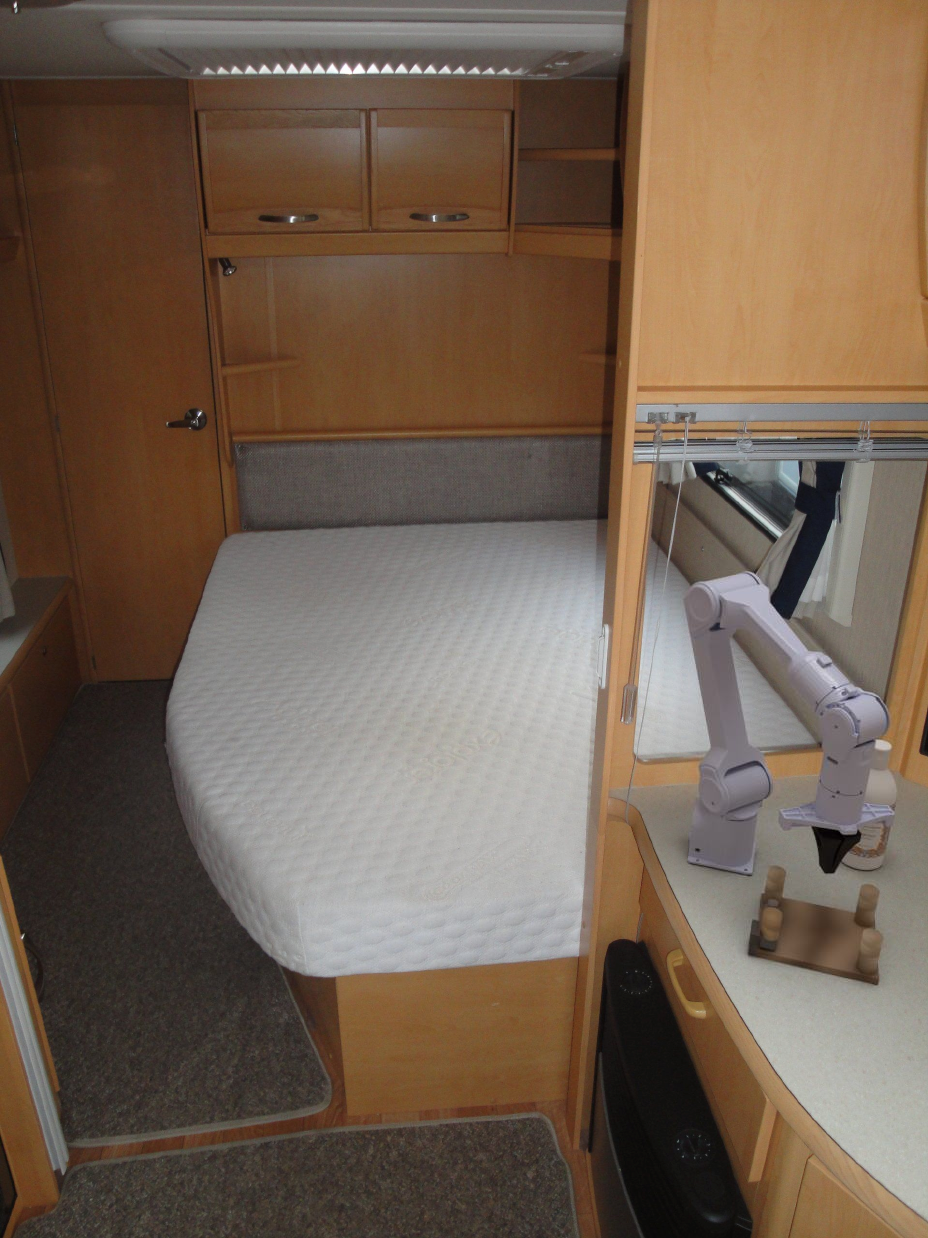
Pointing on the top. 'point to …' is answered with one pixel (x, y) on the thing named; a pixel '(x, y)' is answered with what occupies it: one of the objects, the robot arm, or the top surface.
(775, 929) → the grey bar with knob
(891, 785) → the bath foam
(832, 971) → the stool board
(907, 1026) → the top surface
